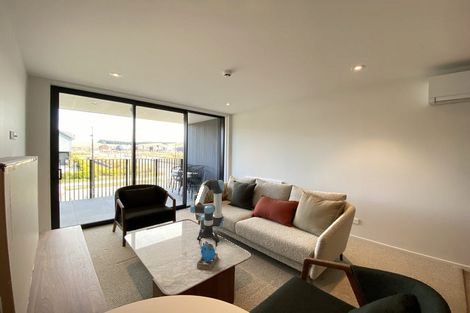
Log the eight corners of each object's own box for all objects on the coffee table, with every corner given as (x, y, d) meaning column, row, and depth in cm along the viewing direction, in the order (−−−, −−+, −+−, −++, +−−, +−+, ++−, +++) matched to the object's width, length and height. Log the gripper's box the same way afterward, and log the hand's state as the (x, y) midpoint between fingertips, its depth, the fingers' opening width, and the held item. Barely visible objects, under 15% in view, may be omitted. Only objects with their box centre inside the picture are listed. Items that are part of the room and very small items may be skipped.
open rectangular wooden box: (205, 255, 179) (205, 251, 179) (217, 257, 176) (217, 253, 176) (196, 267, 160) (196, 263, 160) (210, 270, 158) (210, 265, 158)
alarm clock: (215, 262, 166) (215, 244, 165) (209, 264, 161) (209, 246, 161) (206, 256, 175) (206, 239, 175) (200, 258, 171) (200, 241, 170)
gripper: (193, 224, 166) (192, 249, 167) (221, 227, 161) (220, 253, 162) (196, 221, 173) (196, 245, 174) (223, 224, 168) (223, 248, 169)
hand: (208, 249), depth 168 cm, fingers closed on alarm clock, 13 cm apart
